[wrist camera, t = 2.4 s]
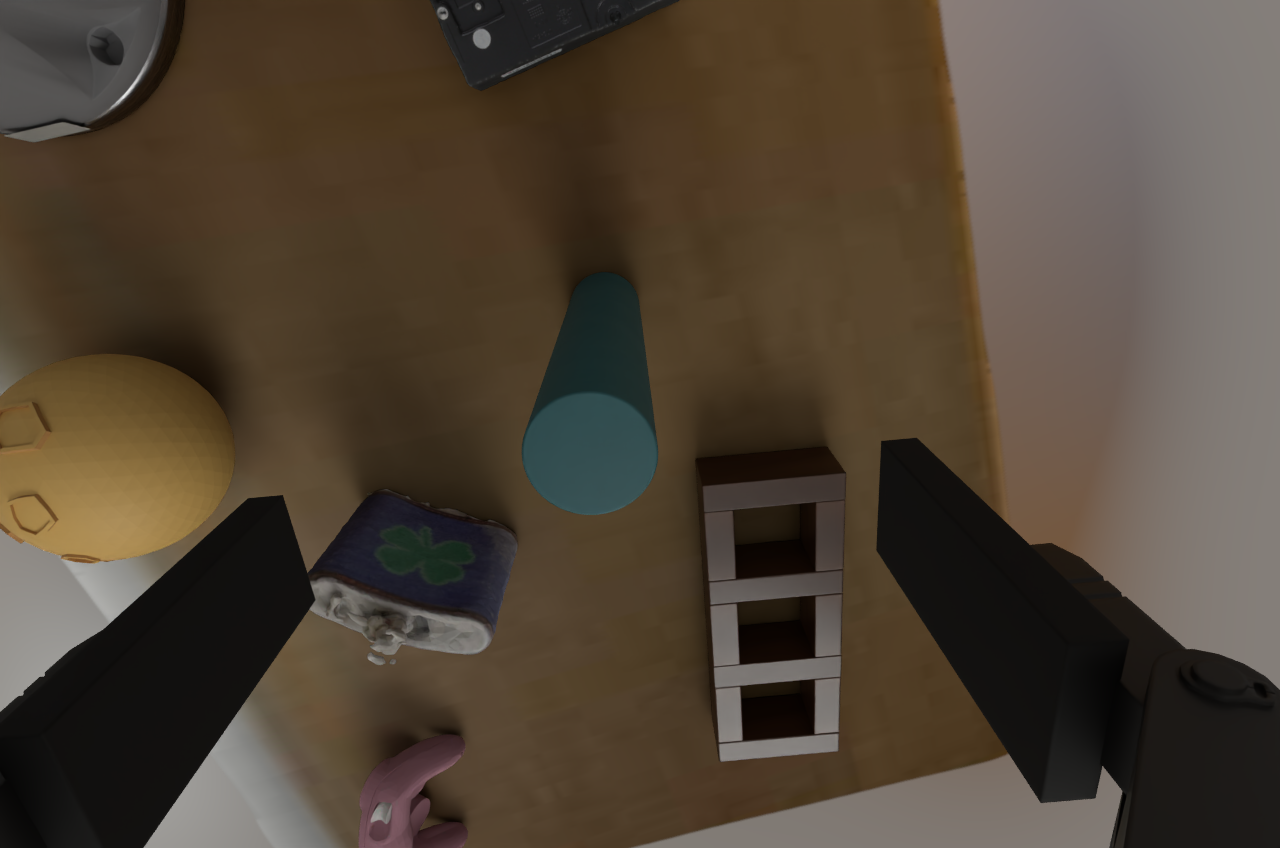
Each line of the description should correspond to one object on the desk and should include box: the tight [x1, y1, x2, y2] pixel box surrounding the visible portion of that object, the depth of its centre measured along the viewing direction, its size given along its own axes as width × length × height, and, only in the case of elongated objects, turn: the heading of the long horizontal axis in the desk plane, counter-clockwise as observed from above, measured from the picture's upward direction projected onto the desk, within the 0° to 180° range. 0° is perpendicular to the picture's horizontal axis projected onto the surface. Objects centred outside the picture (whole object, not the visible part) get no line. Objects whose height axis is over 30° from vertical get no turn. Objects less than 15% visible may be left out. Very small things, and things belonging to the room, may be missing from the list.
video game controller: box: [359, 734, 468, 848], centre depth 45 cm, size 10×5×7 cm, turn 176°
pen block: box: [695, 447, 846, 762], centre depth 41 cm, size 20×8×4 cm, turn 5°
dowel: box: [522, 272, 658, 515], centre depth 27 cm, size 4×4×19 cm
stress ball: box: [0, 354, 235, 563], centre depth 33 cm, size 10×10×10 cm
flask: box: [308, 489, 518, 665], centre depth 35 cm, size 9×3×11 cm, turn 69°
